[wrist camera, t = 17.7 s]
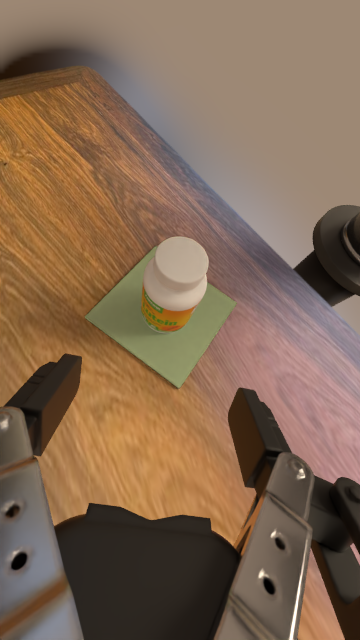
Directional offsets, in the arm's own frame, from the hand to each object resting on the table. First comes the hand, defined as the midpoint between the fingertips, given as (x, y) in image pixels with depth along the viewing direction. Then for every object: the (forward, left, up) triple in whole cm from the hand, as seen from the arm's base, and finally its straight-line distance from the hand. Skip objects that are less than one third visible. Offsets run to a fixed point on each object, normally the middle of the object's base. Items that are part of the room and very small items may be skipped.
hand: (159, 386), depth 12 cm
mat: (-8, -4, -12) cm, 15 cm away
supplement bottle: (-8, -4, -12) cm, 15 cm away
